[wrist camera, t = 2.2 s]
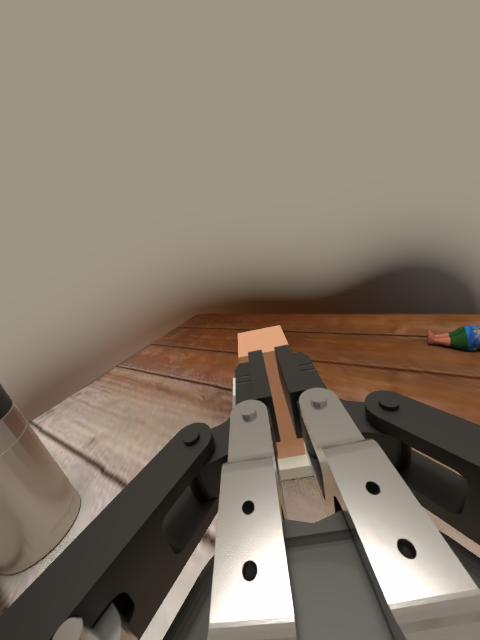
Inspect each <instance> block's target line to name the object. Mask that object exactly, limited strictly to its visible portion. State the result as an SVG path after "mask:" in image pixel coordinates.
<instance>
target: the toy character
mask: <svg viewBox="0 0 480 640" xmlns="http://www.w3.org/2000/svg"><path fill="white" fill-rule="evenodd" d="M427 340H428V343H430V344H432V343H438V344H442V345H446V346H450V347H455V348H459V349H463V350H466V351H476V350H478V349H480V327H479V326H465V327H461V328H458V329H457V330H455V331H453V332H450V333H445V334H440V335H433V333H432V332H431V330H428V338H427Z"/></svg>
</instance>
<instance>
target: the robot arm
mask: <svg viewBox="0 0 480 640" xmlns="http://www.w3.org/2000/svg"><path fill="white" fill-rule="evenodd" d="M274 351H275V356H276V362H277V368H278V373H279V378H280V382H281V386H282V390H283V393H284V396H285V400H286V403H287V407H288V410H289V414H290V417H291V420H292V424H293V427H294V431H295V434H296V437H297V439H299V438H303V440H304V443H305V447H306V453H307V458H308V461H309V463H310V466H311V469H312V472H313V475H314V478H315V481H316V484H317V487H318V490H319V492H320V495H321V498H322V501H323V504H324V507H325V511H326V514H327V517H326V518H324V519H322V520H320V521H318V522H316V523H306V522H300V521H293V520H287V514H286V508H285V502H284V495H283V489H282V482H281V476H280V470H279V463H278V450H277V444H276V442H281V439H280V434H279V429H278V424H277V419H276V414H275V409H274V404H273V399H272V394H271V390H270V385H269V380H268V376H267V371H266V367H265V362H264V358H263V353H262V349H261V350H256V351H251V352H248V359H249V362H246V363H240V364H239V365H238V367H237V368H236V370H235V378H236V379H235V407H234V408H233V410H232V412H231V415H230V418H229V419H228V420H227V421H226V422H224V423H223V424H221V425H219V426H217V427H214V428H212V429H210V427H209V426H208V425H206V424H204V423H193V424H190V425H188V426H186V427H184V428H183V429H181V430H180V431H179V432H178V433H177V434H176V435H175V436H174V437H173V438H172V439H171V440H170V442H169V443H168V444H167V445H166V446H165V447H164V448H163V449H162V450H161V451H160V452H159V453H158V454H157V455H156V456H155V457H154V458H153V459H152V460H151V461H150V462H149V463H148V464H147V465H146V466H145V467H144V468H143V469H142V470H141V471H140V472H139V474H138V475H137V476H136V477H135V478H134V479H133V480H132V481H131V482H130V483H129V484H128V485H127V486H126V487H125V488H124V489H123V490H122V491H121V492H120V493H119V494H118V495H117V496H116V497H115V498H114V499H113V500H112V501H111V502H110V503H109V504H108V506H107V507H106V508H105V509H104V510H103V511H102V512H101V513H100V514H99V515H98V516H97V517H96V518H95V519H94V520H93V521H92V522H91V523H90V524H89V525H88V526H87V527H86V528H85V529H84V530H83V531H82V532H81V533H80V534H79V535H78V536H77V538H76V539H75V540H74V541H73V542H72V543H71V544H70V545H69V546H68V547H67V548H66V549H65V550H64V551H63V552H62V553H61V554H60V555H59V556H58V557H57V558H56V559H55V560H54V561H53V562H52V563H51V564H50V565H49V566H48V567H47V568H46V570H45V571H44V572H43V573H42V574H41V575H40V576H39V577H38V578H37V579H36V580H35V581H34V582H33V583H32V584H31V585H30V586H29V587H28V588H27V589H26V590H25V591H24V592H23V593H22V594H21V595H20V596H19V597H18V598H17V599H16V600H15V602H14V603H13V604H12V605H11V606H10V607H9V608H8V609H7V610H6V611H5V612H4V613H3V614H2V615H1V616H0V640H140V638H141V636H142V635H143V633H144V631H145V630H146V628H147V627H148V625H149V623H150V622H151V620H152V618H153V617H154V615H155V614H156V612H157V610H158V609H159V607H160V605H161V604H162V602H163V600H164V599H165V597H166V596H167V594H168V592H169V591H170V589H171V587H172V586H173V584H174V583H175V581H176V579H177V578H178V576H179V574H180V573H181V571H182V569H183V568H184V566H185V565H186V563H187V561H188V560H189V558H190V556H191V555H192V553H193V551H194V550H195V548H196V547H197V545H198V543H199V542H200V540H201V538H202V537H203V535H204V534H205V532H206V530H207V529H208V527H209V525H210V524H211V522H212V520H213V519H214V517H215V516H216V514H217V512H218V520H217V533H216V545H215V555H214V556H213V557H212V558H211V559H210V560H209V562H208V563H207V565H206V566H205V567H204V569H203V570H202V572H201V573H200V575H199V577H198V578H197V580H196V582H195V584H194V585H193V587H192V589H191V591H190V592H189V594H188V596H187V598H186V599H185V601H184V603H183V605H182V606H181V608H180V610H179V612H178V613H177V615H176V617H175V619H174V620H173V622H172V624H171V626H170V627H169V629H168V631H167V633H166V634H165V636H164V638H163V640H480V558H479V557H477V556H476V555H475V554H473V553H472V552H470V551H469V550H467V549H466V548H465V547H463V546H462V545H460V544H459V543H458V542H456V541H455V540H453V539H452V538H450V537H449V536H447V535H445V534H444V533H442V532H440V531H439V530H438V529H437V528H436V526H435V525H434V524H433V522H432V521H431V519H430V518H429V516H428V515H427V513H426V512H425V511H424V509H423V508H422V506H423V507H424V508H426V509H427V510H429V511H430V512H431V513H433V514H434V515H436V516H437V517H439V518H440V519H442V520H443V521H445V522H446V523H448V524H449V525H451V526H452V527H454V528H455V529H456V530H458V531H459V532H461V533H462V534H464V535H465V536H467V537H468V538H470V539H471V540H473V541H474V542H476V543H477V544H479V545H480V425H477V424H475V423H472V422H470V421H467V420H465V419H462V418H459V417H457V416H454V415H452V414H449V413H447V412H444V411H442V410H439V409H436V408H434V407H431V406H429V405H426V404H424V403H421V402H418V401H416V400H413V399H411V398H408V397H406V396H403V395H400V394H398V393H395V392H391V391H375V392H372V393H370V394H369V395H367V397H366V399H365V402H354V401H345V400H342V399H339V398H338V397H337V396H336V394H335V393H333V392H332V391H330V390H328V389H327V388H326V387H325V385H324V383H323V381H322V379H321V378H320V376H319V374H318V372H317V371H316V370H315V367H314V365H313V364H312V362H311V360H310V358H309V356H307V355H305V354H304V353H302V352H298V353H292V351H291V349H290V346H289V344H287V345H282V346H277V347H274ZM412 447H413V448H414V449H416V450H418V451H420V452H422V453H424V454H426V455H428V456H430V457H431V458H433V459H435V460H437V461H439V462H441V463H443V464H445V465H447V466H448V467H450V468H452V469H454V470H455V471H457V472H458V473H459V474H461V475H462V476H463V477H462V476H460V475H458V474H457V473H455V472H453V471H451V470H449V469H447V468H445V467H444V466H442V465H440V464H438V463H436V462H434V461H432V460H431V459H429V458H427V457H425V456H423V455H421V454H419V453H417V452H416V451H414V450H412ZM79 508H80V496H79V494H78V493H77V491H76V490H75V488H74V487H73V486H72V484H71V483H70V481H69V480H68V478H67V477H66V475H65V474H64V472H63V471H62V470H61V468H60V467H59V465H58V464H57V463H56V461H55V460H54V458H53V457H52V456H51V454H50V453H49V451H48V450H47V449H46V447H45V446H44V444H43V443H42V442H41V440H40V439H39V437H38V436H37V435H36V433H35V432H34V430H33V429H32V428H31V426H30V425H29V423H28V422H27V421H26V419H25V418H24V417H23V415H22V414H21V412H20V411H19V410H18V408H17V407H16V406H15V404H14V403H13V401H12V400H11V399H10V397H9V396H8V394H7V393H6V392H5V390H4V389H3V387H2V386H1V384H0V573H1V574H5V575H9V574H15V573H17V572H20V571H23V570H25V569H26V568H28V567H30V566H32V565H33V564H35V563H36V562H37V561H39V560H40V559H42V558H43V557H44V556H45V555H46V554H47V553H49V552H50V551H51V550H52V549H53V548H54V547H55V546H56V545H57V544H58V543H59V542H60V540H61V539H62V538H63V537H64V535H65V534H66V533H67V532H68V530H69V529H70V527H71V526H72V524H73V522H74V521H75V518H76V516H77V514H78V511H79Z"/></svg>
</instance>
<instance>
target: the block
mask: <svg viewBox="0 0 480 640" xmlns="http://www.w3.org/2000/svg"><path fill="white" fill-rule="evenodd" d="M287 344H288V342H287V340H286V338H285V336H284V334H283V331H282V329H281V327H280V325H278V326H273V327H268V328H263V329H258V330H253V331H248V332H243V333H238V358H239V362H240V363H246V362H249V359H248V352H251V351H256V350H261V349H262V353H263V358H264V362H265V367H266V371H267V376H268V380H269V385H270V390H271V394H272V399H273V404H274V409H275V414H276V419H277V424H278V429H279V434H280V439H281V442H276V444H277V450H278V459H281V458H287V457H293V456H299V455H305V454H306V453H305V446H304V440H303V438H299V439H297V437H296V434H295V431H294V427H293V424H292V420H291V417H290V414H289V410H288V407H287V403H286V400H285V396H284V393H283V390H282V386H281V382H280V378H279V373H278V368H277V362H276V356H275V351H274V347H277V346H282V345H287Z"/></svg>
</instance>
